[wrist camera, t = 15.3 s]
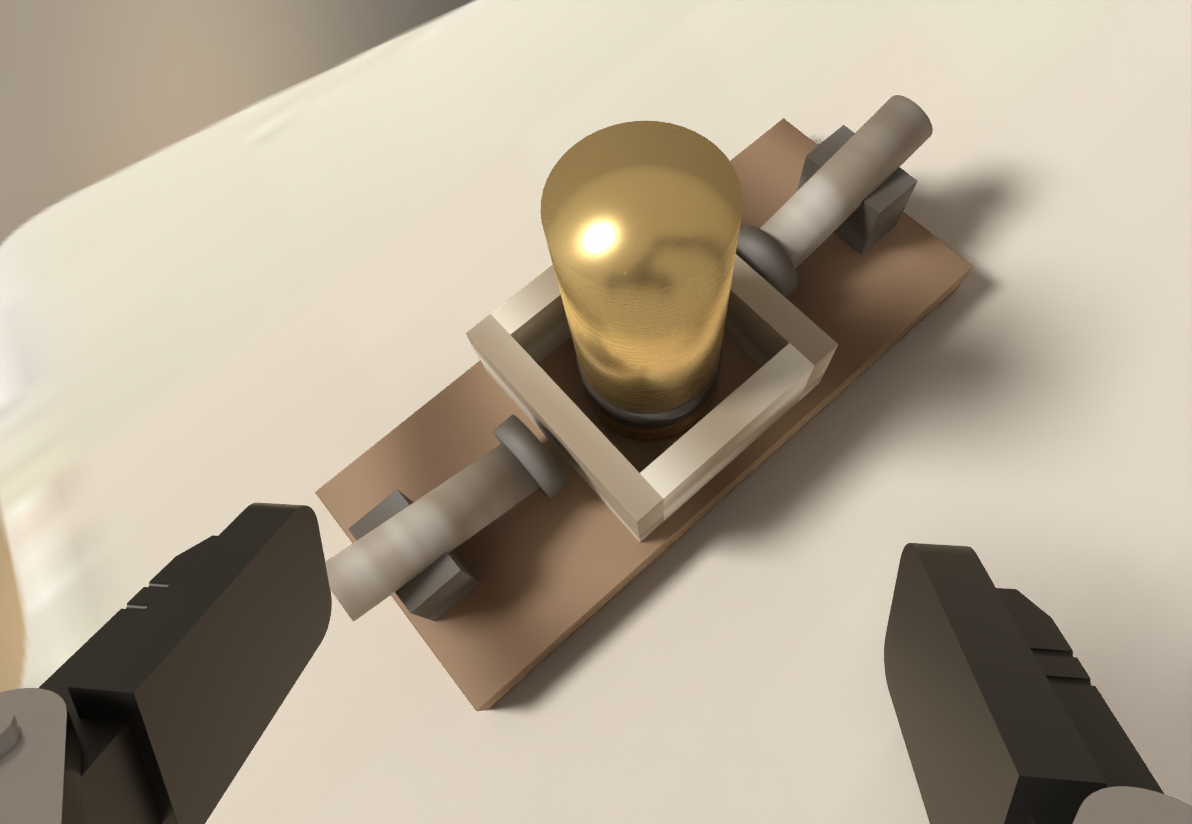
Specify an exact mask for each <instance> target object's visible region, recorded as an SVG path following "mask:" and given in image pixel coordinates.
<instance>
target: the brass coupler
mask: <svg viewBox="0 0 1192 824" xmlns="http://www.w3.org/2000/svg"><path fill="white" fill-rule="evenodd" d="M742 206H743V200H742V190H741V185H740V181H739V179H738V176H737V174H736V171H735V169H734V167H733V166H732V164H731V162H730V161H729V159H728V158H727V157H726V156H725V154H724V153H723V152H722V151H721V150H720V149H719V148H718V147H717V146H716V145H715V144H713V143H712V142H711V141H709V140H708V139H706V138H705V137H703V136H702V135H700V134H698V133H696V132H694V131H692V130H689V129H687V128H684V127H682V126H678V125H674V124H671V123H665V122H658V121H634V122H627V123H621V124H617V125H613V126H610V127H607V128H604V129H602V130H599V131H597V132H595V133H593V134H591V135H589V136H587V137H585V138H584V139H582V140H581V141H579V142H578V143H576V144H575V145H574V146H573V147H571V148H570V149H569V150H568V151H567V152H566V153H565V154H564V155H563V156H562V157H561V158H560V159H559V161H558V162H557V163H556V165H555V166H554V168H553V169H552V171H551V173H550V175H549V177H548V179H547V181H546V184H545V187H544V189H543V194H542V199H541V219H542V225H543V229H544V232H545V236H546V240H547V244H548V248H549V252H550V255H551V259H552V263H553V267H554V271H555V274H556V278H557V282H558V286H559V290H560V293H561V297H562V301H563V305H564V309H565V312H566V316H567V320H568V324H569V328H570V332H571V335H572V339H573V343H574V347H575V351H576V359H577V365H578V368H579V372H580V376H581V379H582V383H583V386H584V389H585V391H586V393H587V396H588V400H589V403H590V405H591V407H592V409H593V411H594V413H595V414H596V416H597V417H598V418H599V419H600V421H601V422H602V423H603V424H604V425H606V426H607V427H608V428H609V429H611V430H612V431H613V432H615V433H617V434H619V435H621V436H623V437H626V438H628V439H632V440H636V441H643V442H657V441H664V440H668V439H671V438H674V437H677V436H679V435H681V434H683V433H685V432H687V431H688V430H690V429H691V428H692V427H693V426H695V425H696V424H697V423H698V422H699V421H700V420H701V419H702V417H703V416H704V415H705V414H706V412H707V410H708V408H709V407H710V404H711V402H712V399H713V396H714V392H715V386H716V384H717V380H718V376H719V370H720V364H721V357H722V340H723V334H724V327H725V321H726V314H727V307H728V301H729V294H730V288H731V281H732V275H733V268H734V262H735V255H736V248H737V242H738V235H739V229H740V222H741V216H742Z"/></svg>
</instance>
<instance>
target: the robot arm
mask: <svg viewBox="0 0 1192 824" xmlns="http://www.w3.org/2000/svg"><path fill="white" fill-rule="evenodd" d="M331 606H332V600H331V591H330V586H329V580H328V575H327V569H326V564H325V558H324V553H323V548H322V542H321V537H320V531H319V526H318V521H317V517H316V515H315V513H314V511H313V510H312V509H311V508H310V507H309V506H304V505H287V504H271V503H253V504H251V505H249V506H248V507H247V508H246V509H245V510H244V511H243V512H242V513H241V514H240V515H239V516H238V517H237V518H236V519H235V520H234V521H233V522H232V523H231V524H230V525H229V526H228V527H227V528H226V529H225V530H224V531H223V532H222V533H221V534H220V535H219V536H211V537H209V538H208V539H206V540H204V541H202V542H201V543H199V544H197V545H195V546H194V547H192V548H190V549H188V550H186V551H185V552H183V553H181V554H179V555H178V556H176V557H175V558H174V559H173V560H172V561H171V562H170V563H169V564H168V565H167V566H165V567H164V568H163V569H162V570H161V571H160V572H159V573H158V574H157V575H156V576H155V577H154V578H153V579H152V580H151V581H150V582H149V587H144V588H143V589H141V590H140V591H139V592H138V593H137V594H136V595H135V596H134V597H133V598H132V599H131V600H130V601H129V602H128V603H127V608H126V609H121V610H120V611H118V612H117V613H116V614H115V615H114V616H113V617H112V618H111V619H110V620H109V621H108V622H107V623H106V624H105V625H104V626H103V627H102V628H101V629H100V630H99V631H98V632H97V633H95V634H94V635H93V636H92V637H91V638H90V639H89V640H88V641H87V642H86V643H85V644H84V645H83V646H82V647H81V648H80V649H79V650H78V651H77V652H76V653H75V654H74V655H72V656H71V657H70V658H69V659H68V660H67V661H66V662H65V663H64V664H63V665H62V666H61V667H60V668H59V669H58V670H57V671H56V672H55V673H54V674H53V675H52V676H51V677H50V678H48V679H47V680H46V681H45V682H44V683H43V684H42V685H41V686H40V687H39V688H24V689H15V690H10V691H4V692H1V693H0V824H205V823H206V821H207V819H208V818H209V816H210V815H211V813H212V812H213V810H214V809H215V807H216V805H217V804H218V802H219V801H220V799H221V798H222V796H223V795H224V793H225V791H226V790H227V788H228V787H229V785H230V784H231V782H232V781H233V779H234V777H235V776H236V774H237V773H238V771H239V770H240V768H241V766H242V765H243V763H244V762H245V760H246V759H247V757H248V756H249V754H250V752H251V751H252V749H253V748H254V746H255V745H256V743H257V742H258V740H259V738H260V737H261V735H262V734H263V732H264V731H265V729H266V728H267V726H268V724H269V723H270V721H271V720H272V718H273V717H274V715H275V713H276V712H277V710H278V709H279V707H280V706H281V704H282V703H283V701H284V699H285V698H286V696H287V695H288V693H289V692H290V690H291V689H292V687H293V685H294V684H295V682H296V681H297V679H298V678H299V676H300V675H301V673H302V671H303V670H304V668H305V667H306V665H307V664H308V662H309V660H310V659H311V657H312V656H313V654H314V653H315V651H316V650H317V648H318V646H319V645H320V643H321V642H322V640H323V638H324V636H325V634H326V631H327V628H328V625H329V621H330V616H331ZM884 663H885V674H886V680H887V685H888V689H889V692H890V695H891V699H892V702H893V705H894V708H895V712H896V715H897V718H898V721H899V725H900V728H901V731H902V734H903V738H904V741H905V744H906V747H907V751H908V754H909V757H910V760H911V764H912V767H913V770H914V773H915V776H916V780H917V783H918V786H919V789H920V793H921V796H922V799H923V802H924V806H925V809H926V812H927V815H928V819H929V822H930V824H1192V806H1190V805H1188V804H1186V803H1184V802H1182V801H1180V800H1177V799H1175V798H1173V797H1170V796H1167V795H1165V794H1164V793H1163V791H1162V790H1161V788H1160V787H1159V785H1158V783H1157V782H1156V780H1155V779H1154V777H1153V776H1152V774H1151V772H1150V771H1149V769H1148V768H1147V766H1146V765H1145V763H1144V762H1143V760H1142V758H1141V757H1140V755H1139V754H1138V752H1137V751H1136V749H1135V747H1134V746H1133V744H1132V743H1131V741H1130V740H1129V738H1128V737H1127V735H1126V733H1125V732H1124V730H1123V729H1122V727H1121V726H1120V724H1119V722H1118V721H1117V719H1116V718H1115V716H1114V715H1113V713H1112V712H1111V710H1110V708H1109V707H1108V705H1107V704H1106V702H1105V701H1104V699H1103V697H1102V696H1101V694H1100V693H1099V691H1098V690H1097V688H1096V687H1095V686H1091V683H1090V677H1089V676H1088V674H1087V672H1086V671H1085V669H1084V668H1083V666H1082V665H1081V663H1080V662H1079V660H1078V658H1075V657H1073V651H1072V649H1071V647H1070V646H1069V644H1068V643H1067V641H1066V640H1065V638H1064V637H1063V635H1062V633H1061V632H1060V630H1059V629H1058V627H1057V626H1056V624H1055V622H1054V621H1053V619H1052V618H1051V617H1050V616H1048V615H1047V614H1046V613H1045V612H1044V611H1042V610H1041V609H1040V608H1039V607H1037V606H1036V605H1035V604H1034V603H1032V602H1031V601H1030V600H1029V599H1028V598H1026V597H1025V596H1024V595H1023V594H1021V593H1020V592H1019V591H1018V590H1016V589H1002V588H996V587H995V586H994V584H993V582H992V580H991V579H990V577H989V575H988V573H987V572H986V570H985V568H984V566H983V565H982V563H981V561H980V559H979V558H978V556H977V554H976V553H975V551H974V550H973V549H972V548H971V547H967V546H950V545H933V544H917V543H908V544H907V545H906V546H905V547H904V549H903V552H902V555H901V559H900V564H899V569H898V574H897V579H896V584H895V590H894V595H893V600H892V605H891V610H890V616H889V621H888V626H887V631H886V637H885V646H884Z"/></svg>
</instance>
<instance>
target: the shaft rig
mask: <svg viewBox="0 0 1192 824" xmlns="http://www.w3.org/2000/svg"><path fill="white" fill-rule="evenodd" d="M932 131H933V130H932V125H931V122H930V120H929V118H928V116H927V115H926V114H925V112H924V111H923V110H922V109H921V108H920V107H919V106H918V105H917V104H916V103H914V102H913V101H912V100H910V99H908V98H906V97H904V96H900V95H895V96H893V97H891V98H890V99H889V100H888V101H887V102H886V103H885V104H884V105H883V106H882V107H881V108H880V109H879V110H878V111H877V112H876V113H875V114H874V115H873V116H872V117H871V118H870V119H869V120H868V121H867V122H866V123H865V124H864V125H863V126H862V127H861V128H860V129H859V130H858V131H857V132H856V133H854V132H852V131H851V130H850V129H848V128H847V127H846V126H844V125H843V126H842V127H840V128H839V129H838V130H837V131H836V132H834V133H833V134H832V135H831V136H829V137H828V138H827V139H826V140H825V141H823V142H822V143H821V144H820V145H817V144H816V143H814V142H813V141H812V140H811V139H809V138H808V137H807V136H805V135H804V134H803V133H802V132H800V131H799V130H798V129H797V128H795V127H794V126H793V125H791V124H790V123H789V122H788V121H786V120H785V119H784V118H783V119H782V120H781V121H780V122H778V123H777V124H776V125H775V126H773V127H772V128H771V129H770V130H768V131H767V132H766V133H765V134H763V135H762V136H761V137H760V138H758V139H757V140H756V141H755V142H753V143H752V144H751V145H750V146H748V147H747V148H746V149H745V150H743V151H742V152H741V153H740V154H738V155H737V156H736V157H735V158H733V159H732V160H731V161H730V162H731V164H732V166H733V167H734V169H735V171H736V174H737V176H738V179H739V181H740V185H741V190H742V200H743V206H742V216H741V222H740V229H739V235H738V242H737V248H736V255H735V262H734V268H733V275H732V281H731V288H730V294H729V301H728V307H727V314H726V321H725V327H724V334H723V340H722V357H721V364H720V370H719V376H718V380H717V384H716V386H715V392H714V396H713V399H712V402H711V404H710V407H709V408H708V410H707V412H706V414H705V415H704V416H703V417H702V419H701V420H700V421H699V422H698V423H697V424H696V425H695V426H693V427H692V428H691V429H690V430H688V431H687V432H685V433H683V434H681V435H679V436H677V437H674V438H671V439H668V440H664V441H657V442H643V441H636V440H632V439H628V438H626V437H623V436H621V435H619V434H617V433H615V432H613V431H612V430H611V429H609V428H608V427H607V426H606V425H604V424H603V423H602V422H601V421H600V419H599V418H598V417H597V416H596V414H595V413H594V411H593V409H592V407H591V405H590V403H589V400H588V396H587V393H586V391H585V389H584V386H583V383H582V379H581V376H580V372H579V368H578V365H577V359H576V351H575V347H574V343H573V339H572V335H571V332H570V328H569V324H568V320H567V316H566V312H565V309H564V305H563V301H562V297H561V293H560V290H559V286H558V282H557V278H556V274H555V271H554V267H553V265H552V266H551V267H549V268H548V269H547V270H546V271H544V272H543V273H542V274H541V275H539V276H538V277H537V278H535V279H534V280H533V281H532V282H530V283H529V284H528V285H527V286H525V287H524V288H523V289H521V290H520V291H519V292H518V293H516V294H515V295H514V296H513V297H511V298H510V299H509V300H508V301H506V302H505V303H504V304H502V305H501V306H500V307H499V308H497V309H496V310H495V311H494V312H492V313H491V314H490V315H488V316H487V317H486V318H485V319H483V320H482V321H481V322H480V323H478V324H477V325H476V326H474V327H473V328H472V329H471V330H469V331H468V332H467V333H466V335H467V337H468V339H469V340H470V342H471V344H472V346H473V348H474V349H475V351H476V353H477V355H478V357H479V359H480V361H479V362H478V363H476V364H475V365H474V366H473V367H471V368H470V369H469V370H468V371H466V372H465V373H464V374H463V375H461V376H460V377H459V378H458V379H456V380H455V381H454V382H453V383H451V384H450V385H449V386H448V387H446V388H445V389H444V390H443V391H441V392H440V393H439V394H438V395H436V396H435V397H434V398H433V399H431V400H430V401H429V402H428V403H426V404H425V405H424V406H423V407H421V408H420V409H419V410H417V411H416V412H415V413H414V414H412V415H411V416H410V417H409V418H407V419H406V420H405V421H404V422H402V423H401V424H400V425H399V426H397V427H396V428H395V429H394V430H392V431H391V432H390V433H389V434H387V435H386V436H385V437H384V438H382V439H381V440H380V441H379V442H377V443H376V444H375V445H374V446H372V447H371V448H370V449H369V450H367V451H366V452H365V453H364V454H362V455H361V456H360V457H359V458H357V459H356V460H355V461H354V462H352V463H351V464H350V465H349V466H347V467H346V468H345V469H344V470H342V471H341V472H340V473H339V474H337V475H336V476H335V477H334V478H332V479H331V480H330V481H329V482H327V483H326V484H325V485H323V486H322V487H321V488H320V489H318V490H317V491H316V492H315V493H316V494H317V496H318V497H319V499H320V500H321V501H322V503H323V504H324V505H325V507H326V508H327V509H328V511H329V512H330V513H331V515H332V516H333V517H334V519H335V520H336V522H337V523H338V524H339V526H340V527H341V528H342V530H343V531H344V532H345V534H346V535H347V536H348V538H349V539H350V541H351V542H352V543H353V544H351V545H350V546H348V547H347V548H345V549H344V550H342V551H341V552H339V553H338V554H336V555H335V556H333V557H332V558H330V559H329V560H327V561H326V562H325V564H326V569H327V575H328V580H329V586H330V589H331V591H332V592H333V594H334V595H335V597H336V598H337V599H338V601H339V602H340V604H341V605H342V607H343V608H344V609H345V611H346V612H347V613H348V615H349V616H350V618H351V619H352V620H353V621H355V620H356V619H358V618H359V617H361V616H362V615H363V614H365V613H366V612H368V611H369V610H370V609H372V608H373V607H374V606H376V605H377V604H379V603H380V602H381V601H383V600H384V599H386V598H387V597H388V596H390V595H391V596H392V597H393V599H394V600H395V601H396V603H397V604H398V606H399V607H400V608H401V610H402V611H403V612H404V614H405V615H406V616H407V618H408V619H409V620H410V622H411V623H412V625H413V626H414V627H415V629H416V630H417V631H418V633H419V634H420V635H421V637H422V638H423V639H424V641H425V642H426V644H427V645H428V646H429V648H430V649H431V650H432V652H433V653H434V654H435V656H436V657H437V658H438V660H439V661H440V662H441V664H442V665H443V667H444V668H445V669H446V671H447V672H448V673H449V675H450V676H451V677H452V679H453V680H454V681H455V683H456V684H457V686H458V687H459V688H460V690H461V691H462V692H463V694H464V695H465V696H466V698H467V699H468V700H469V702H470V703H471V704H472V706H473V707H474V709H475V710H476V711H484V710H488V709H489V708H490V707H492V706H493V705H494V704H495V703H496V702H497V701H498V700H499V699H500V698H502V697H503V696H504V695H505V694H506V693H507V692H508V691H509V690H510V689H512V688H513V687H514V686H515V685H516V684H517V683H518V682H519V681H520V680H522V679H523V678H524V677H525V676H526V675H527V674H528V673H529V672H530V671H532V670H533V669H534V668H535V667H536V666H537V665H538V664H539V663H541V662H542V661H543V660H544V659H545V658H546V657H547V656H548V655H549V654H551V653H552V652H553V651H554V650H555V649H556V648H557V647H558V646H559V645H561V644H562V643H563V642H564V641H565V640H566V639H567V638H568V637H569V636H571V635H572V634H573V633H574V632H575V631H576V630H577V629H578V628H579V627H581V626H582V625H583V624H584V623H585V622H586V621H587V620H588V619H589V618H591V617H592V616H593V615H594V614H595V613H596V612H597V611H598V610H600V609H601V608H602V607H603V606H604V605H605V604H606V603H607V602H608V601H610V600H611V599H612V598H613V597H614V596H615V595H616V594H617V593H618V592H620V591H621V590H622V589H623V588H624V587H625V586H626V585H627V584H628V583H630V582H631V581H632V580H633V579H634V578H635V577H636V576H637V575H638V574H640V573H641V572H642V571H643V570H644V569H645V568H646V567H647V566H648V565H650V564H651V563H652V562H653V561H654V560H655V559H656V558H657V557H659V556H660V555H661V554H662V553H663V552H664V551H665V550H666V549H667V548H669V547H670V546H671V545H672V544H673V543H674V542H675V541H676V540H677V539H679V538H680V537H681V536H682V535H683V534H684V533H685V532H686V531H687V530H689V529H690V528H691V527H692V526H693V525H694V524H695V523H696V522H697V521H699V520H700V519H701V518H702V517H703V516H704V515H705V514H706V513H707V512H709V511H710V510H711V509H712V508H713V507H714V506H715V505H716V504H718V503H719V502H720V501H721V500H722V499H723V498H724V497H725V496H726V495H728V494H729V493H730V492H731V491H732V490H733V489H734V488H735V487H736V486H738V485H739V484H740V483H741V482H742V481H743V480H744V479H745V478H746V477H748V476H749V475H750V474H751V473H752V472H753V471H754V470H755V469H756V468H758V467H759V466H760V465H761V464H762V463H763V462H764V461H765V460H766V459H768V458H769V457H770V456H771V455H772V454H773V453H774V452H775V451H777V450H778V449H779V448H780V447H781V446H782V445H783V444H784V443H785V442H787V441H788V440H789V439H790V438H791V437H792V436H793V435H794V434H795V433H797V432H798V431H799V430H800V429H801V428H802V427H803V426H804V425H805V424H807V423H808V422H809V421H810V420H811V419H812V418H813V417H814V416H815V415H817V414H818V413H819V412H820V411H821V410H822V409H823V408H824V407H826V406H827V405H828V404H829V403H830V402H831V401H832V400H833V399H834V398H836V397H837V396H838V395H839V394H840V393H841V392H842V391H843V390H844V389H846V388H847V387H848V386H849V385H850V384H851V383H852V382H853V381H854V380H856V379H857V378H858V377H859V376H860V375H861V374H862V373H863V372H864V371H866V370H867V369H868V368H869V367H870V366H871V365H872V364H873V363H874V362H876V361H877V360H878V359H879V358H880V357H881V356H882V355H883V354H885V353H886V352H887V351H888V350H889V349H890V348H891V347H892V346H893V345H895V344H896V343H897V342H898V341H899V340H900V339H901V338H902V337H903V336H905V335H906V334H907V333H908V332H909V331H910V330H911V329H912V328H913V327H915V326H916V325H917V324H918V323H919V322H920V321H921V320H922V319H923V318H925V317H926V316H927V315H928V314H929V313H930V312H931V311H932V310H933V309H935V308H936V307H937V306H938V305H939V304H940V303H941V302H942V301H944V300H945V299H946V298H947V297H948V296H949V295H950V294H951V293H952V292H954V291H955V290H956V289H957V288H958V287H959V285H960V284H961V282H962V281H963V280H964V278H965V277H966V275H967V274H968V272H969V271H970V270H971V268H972V267H973V266H972V265H971V264H970V263H968V262H967V261H966V260H964V259H963V258H962V257H961V256H959V255H958V254H957V253H955V252H954V251H953V250H952V249H950V248H949V247H948V246H946V245H945V244H944V243H943V242H941V241H940V240H939V239H938V238H936V237H935V236H934V235H932V234H931V233H930V232H929V231H927V230H926V229H925V228H923V227H922V226H921V225H920V224H918V223H917V222H916V221H914V220H913V219H912V218H911V217H909V216H908V215H907V214H905V213H904V212H903V210H904V208H905V206H906V204H907V202H908V199H909V197H910V195H911V193H912V191H913V189H914V187H915V185H916V183H917V180H916V179H914V178H913V177H912V176H910V175H909V174H908V173H906V172H905V171H904V170H902V169H901V168H900V166H901V165H902V164H903V163H904V162H905V161H906V160H907V159H908V158H909V157H910V156H911V155H912V154H913V153H914V152H915V151H916V150H917V149H918V148H919V147H920V146H921V145H922V144H923V143H924V142H925V141H926V140H927V139H928V138H929V137H930V136H931V135H932Z"/></svg>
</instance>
